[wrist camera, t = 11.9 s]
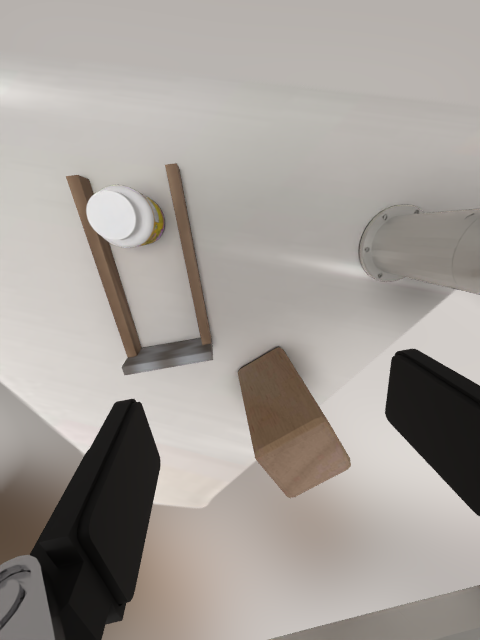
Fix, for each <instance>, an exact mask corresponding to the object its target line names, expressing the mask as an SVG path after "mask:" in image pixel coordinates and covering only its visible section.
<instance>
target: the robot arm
mask: <svg viewBox="0 0 480 640" xmlns="http://www.w3.org/2000/svg"><path fill="white" fill-rule="evenodd" d="M359 254H360V261H361V264H362V266H363V268H364V270H365V271H366V273H367V274H368V275H370V276H371V277H372V278H374V279H377V280H380V281H384V282H392V281H397V280H400V279H403V278H404V277H407V278H411V279H415V280H420V281H424V282H428V283H432V284H436V285H441V286H445V287H449V288H453V289H457V290H462V291H466V292H470V293H475V294H479V295H480V209H469V210H457V211H445V212H432V213H425V212H423V211H422V210H421V209H420V208H418V207H416V206H413V205H396V206H392V207H390V208H387V209H385V210H384V211H382V212H380V213H379V214H378V215H377V216H376V217H375V218H374V219H373V220H372V221H371V222H370V223H369V225H368V226H367V228H366V229H365V232H364V234H363V236H362V239H361V243H360V250H359ZM385 410H386V411H385V414H386V417H387V419H388V421H389V422H390V423H391V424H392V425H393V426H394V428H395V429H396V430H397V431H398V432H399V433H400V434H401V435H402V436H403V437H404V438H405V439H406V440H407V441H408V442H409V444H410V445H411V446H412V447H413V448H414V449H415V450H416V451H417V452H418V453H419V454H420V455H421V456H422V457H423V458H424V459H425V460H426V462H427V463H428V464H429V465H430V466H431V467H432V468H433V469H434V470H435V471H436V472H437V473H438V474H439V475H440V476H441V477H442V479H443V480H444V481H445V482H446V483H447V484H448V485H449V486H450V487H451V488H452V489H453V490H454V491H455V492H456V493H457V494H458V496H459V497H461V499H462V500H463V501H464V502H465V503H466V504H467V505H468V506H469V507H470V508H471V509H472V510H473V511H474V512H475V513H476V514H477V515H478V516H480V386H479V385H478V384H476V383H474V382H472V381H471V380H469V379H467V378H465V377H464V376H462V375H460V374H458V373H457V372H455V371H453V370H451V369H450V368H448V367H446V366H444V365H443V364H441V363H439V362H438V361H436V360H434V359H432V358H431V357H428V356H427V355H425V354H423V353H422V352H420V351H418V350H416V349H409V350H402V351H398V352H396V353H395V356H393V357H392V360H391V368H390V376H389V385H388V393H387V401H386V409H385ZM159 471H160V456H159V453H158V450H157V447H156V444H155V441H154V438H153V435H152V432H151V430H150V427H149V424H148V421H147V418H146V415H145V412H144V409H143V406H142V404H141V403H140V402H136V400H135V399H129V400H124V401H118V402H116V403H115V404H114V405H113V407H112V409H111V411H110V413H109V415H108V416H107V418H106V420H105V422H104V424H103V426H102V427H101V429H100V431H99V433H98V435H97V436H96V438H95V440H94V442H93V444H92V446H91V447H90V449H89V450H88V451H87V453H86V454H85V456H84V457H83V459H82V461H81V463H80V465H79V467H78V468H77V470H76V472H75V474H74V476H73V477H72V479H71V481H70V483H69V485H68V486H67V488H66V490H65V492H64V494H63V496H62V497H61V500H60V501H59V503H58V505H57V506H56V508H55V510H54V512H53V514H52V515H51V517H50V519H49V521H48V523H47V524H46V526H45V528H44V530H43V532H42V533H41V535H40V537H39V539H38V541H37V543H36V544H35V546H34V548H33V550H32V552H31V553H30V555H26V556H18V557H16V558H14V559H11V560H9V561H7V562H5V563H3V564H2V565H1V566H0V640H101V639H102V635H103V631H104V628H105V624H109V623H113V622H117V621H122V619H123V615H124V610H125V606H126V603H127V602H130V601H131V599H132V598H133V595H134V591H135V587H136V582H137V577H138V573H139V568H140V562H141V558H142V552H143V548H144V543H145V538H146V533H147V529H148V524H149V519H150V514H151V509H152V505H153V500H154V495H155V490H156V485H157V480H158V475H159ZM269 640H480V585H479V586H474V587H470V588H466V589H462V590H458V591H454V592H451V593H447V594H443V595H439V596H435V597H431V598H428V599H423V600H420V601H415V602H412V603H407V604H404V605H400V606H396V607H392V608H388V609H384V610H380V611H376V612H372V613H369V614H365V615H361V616H357V617H354V618H349V619H345V620H342V621H338V622H334V623H330V624H326V625H322V626H318V627H314V628H311V629H307V630H303V631H299V632H295V633H292V634H288V635H284V636H280V637H276V638H273V639H269Z"/></svg>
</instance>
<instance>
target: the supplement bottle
mask: <svg viewBox="0 0 480 640" xmlns="http://www.w3.org/2000/svg"><path fill="white" fill-rule="evenodd" d="M86 213H87V218H88V221H89V223H90V225H91V226H92V228H93V229H94V230H95V231H96V232H97V233H98V234H99V235H101V236H102V237H103V238H104V239H105V240H106V241H108V242H109V243H111V244H113V245H116V246H118V247H123V248H131V247H137V246H142V245H146V244H150V243H153V242H155V241H156V240H158V239H159V238H160V236H161V235H162V233H163V231H164V226H165V220H164V216H163V213H162V211H161V209H160V208H159V206H158V205H157V204H156V203H155V202H154V201H153V200H151V199H150V198H148V197H146V196H144V195H143V194H141V193H139V192H137V191H136V190H134V189H132V188H130V187H127V186H123V185H111V186H107V187H105V188H103V189H101V190H100V191H98V192H97V193H95V194H93V195H92V196H91V198H90V199H89V201H88V203H87V208H86Z"/></svg>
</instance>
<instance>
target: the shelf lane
mask: <svg viewBox="0 0 480 640" xmlns="http://www.w3.org/2000/svg"><path fill="white" fill-rule="evenodd" d="M165 167H166V172H167V176H168V181H169V186H170V191H171V196H172V201H173V205H174V210H175V215H176V220H177V225H178V230H179V234H180V239H181V244H182V249H183V254H184V259H185V263H186V268H187V273H188V278H189V283H190V288H191V292H192V297H193V302H194V307H195V312H196V317H197V321H198V326H199V331H200V336H201V338H198V339H192V340H186V341H180V342H174V343H168V344H162V345H156V346H150V347H144V348H141V344H140V341H139V338H138V335H137V332H136V328H135V325H134V322H133V319H132V316H131V312H130V309H129V306H128V303H127V300H126V296H125V293H124V290H123V287H122V284H121V280H120V277H119V274H118V271H117V268H116V264H115V261H114V258H113V255H112V252H111V248H110V245H109V242H108V241H106V240H105V239H104V238H103V237H102V236H101V235H99V234H98V233H97V232H96V231H95V230H94V229H93V228H92V226H91V225H90V223H89V221H88V218H87V213H86V208H87V203H88V201H89V199H90V198H91V196H92V195H93V191H92V188H91V184H90V181H89V179H86V178H84V177H82V176H79V175H74V176H66V178H67V181H68V184H69V187H70V190H71V193H72V196H73V199H74V202H75V205H76V207H77V210H78V213H79V216H80V219H81V222H82V225H83V228H84V231H85V234H86V237H87V240H88V243H89V246H90V248H91V251H92V254H93V257H94V260H95V263H96V266H97V269H98V272H99V275H100V278H101V281H102V284H103V287H104V289H105V292H106V295H107V298H108V301H109V304H110V307H111V310H112V313H113V316H114V319H115V322H116V325H117V327H118V330H119V333H120V336H121V339H122V342H123V345H124V348H125V351H126V354H127V357H128V358H127V360H126V361H125V363H124V364H123V366H122V369H123V372H124V375H129V374H135V373H141V372H146V371H152V370H158V369H163V368H169V367H175V366H181V365H186V364H192V363H198V362H203V361H209V360H213V349H212V339H211V334H210V329H209V323H208V318H207V313H206V308H205V302H204V297H203V292H202V286H201V281H200V276H199V271H198V265H197V260H196V255H195V250H194V244H193V239H192V234H191V228H190V223H189V218H188V213H187V207H186V202H185V197H184V191H183V186H182V181H181V176H180V170H179V167H178V165H177V164H168V165H165Z"/></svg>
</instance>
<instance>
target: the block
mask: <svg viewBox="0 0 480 640" xmlns="http://www.w3.org/2000/svg"><path fill="white" fill-rule="evenodd" d="M238 376H239V381H240V386H241V391H242V396H243V401H244V406H245V410H246V415H247V420H248V425H249V430H250V435H251V440H252V444H253V449H254V454H255V459H256V460H257V461H258V462H259V464H260V465H261V466H262V467H263V468H264V469H265V471H266V472H267V473H268V474H269V476H270V477H271V478H272V479H273V480H274V481H275V483H276V484H277V485H278V486H279V488H280V489H281V490H282V491H283V492H284V493H285V495H286V496H287V497H289V498H291V497H296V496H297V495H299V494H301V493H303V492H305V491H307V490H309V489H311V488H313V487H314V486H317V485H318V484H320V483H322V482H324V481H326V480H328V479H330V478H332V477H334V476H336V475H338V474H340V473H342V472H344V471H346V470H347V469H348V468H349V467H350V466H351V463H350V458H349V456H348V454H347V453H346V451H345V449H344V447H343V446H342V444H341V442H340V441H339V439H338V437H337V436H336V434H335V432H334V430H333V429H332V427H331V425H330V424H329V422H328V420H327V419H326V417H325V415H324V414H323V412H322V411H321V409H320V407H319V406H318V404H317V403H316V401H315V400H314V398H313V396H312V395H311V393H310V392H309V390H308V388H307V387H306V385H305V384H304V382H303V380H302V379H301V377H300V376H299V374H298V372H297V371H296V369H295V368H294V366H293V364H292V363H291V361H290V360H289V358H288V356H287V355H286V353H285V352H284V350H283V349H281V348H280V347H279V348H275V349H274V350H272V351H270V352H268V353H267V354H265V355H263V356H262V357H260V358H258V359H256V360H255V361H253V362H251V363H250V364H248V365H246V366H244V367H243V368H241V369H240V370H239V371H238Z"/></svg>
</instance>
